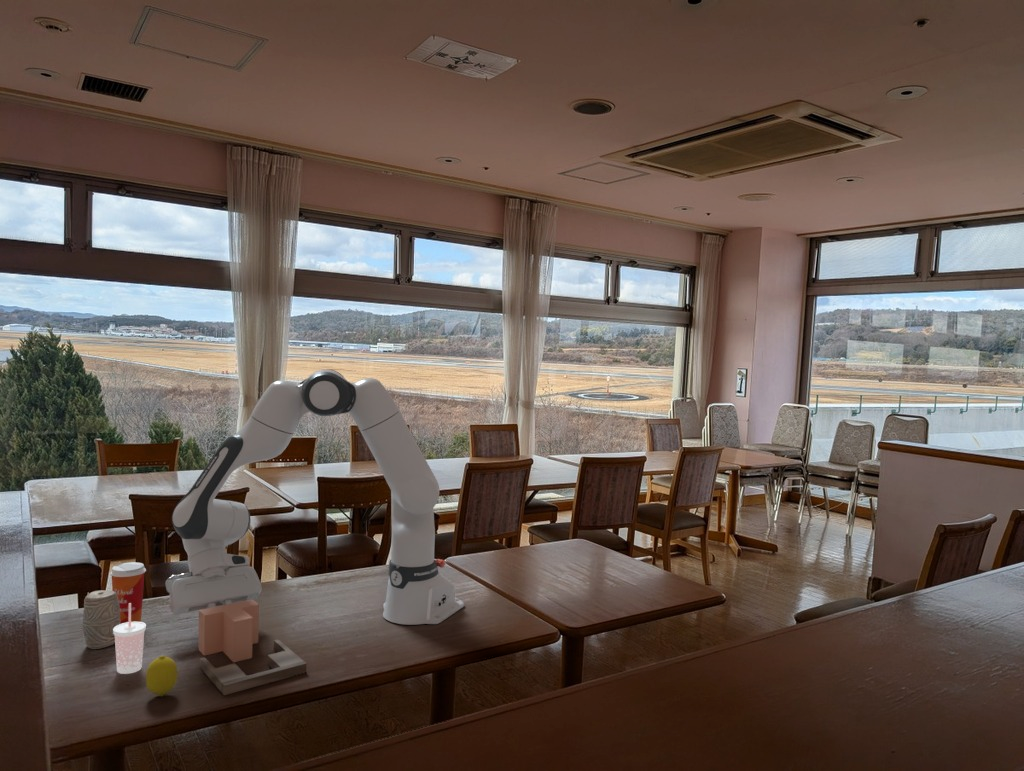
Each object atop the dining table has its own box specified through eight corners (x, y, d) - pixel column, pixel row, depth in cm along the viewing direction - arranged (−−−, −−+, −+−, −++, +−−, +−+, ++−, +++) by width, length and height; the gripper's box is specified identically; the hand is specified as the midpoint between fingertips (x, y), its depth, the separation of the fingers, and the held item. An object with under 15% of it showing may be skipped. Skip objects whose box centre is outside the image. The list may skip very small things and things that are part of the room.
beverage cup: (147, 671, 151) (148, 605, 150) (114, 678, 147) (114, 610, 147) (144, 660, 156) (144, 596, 155) (111, 666, 152) (112, 601, 152)
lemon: (152, 689, 143) (153, 649, 143) (181, 689, 144) (182, 649, 143) (140, 703, 138) (141, 662, 137) (170, 702, 138) (171, 662, 138)
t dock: (200, 667, 153) (200, 658, 153) (278, 648, 164) (278, 639, 164) (224, 695, 142) (224, 685, 142) (306, 672, 153) (306, 663, 153)
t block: (198, 649, 162) (198, 610, 162) (251, 636, 170) (252, 599, 169) (214, 667, 154) (215, 625, 153) (269, 653, 161) (270, 613, 161)
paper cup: (102, 626, 173) (102, 568, 172) (129, 615, 180) (129, 559, 179) (126, 631, 170) (127, 573, 169) (153, 620, 177) (153, 564, 177)
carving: (77, 646, 161) (77, 593, 161) (112, 636, 167) (112, 585, 167) (89, 654, 157) (90, 600, 157) (125, 644, 163) (125, 592, 163)
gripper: (166, 570, 166) (178, 625, 159) (255, 555, 179) (269, 606, 172) (161, 583, 169) (172, 638, 162) (248, 568, 183) (262, 618, 176)
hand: (223, 621), depth 167 cm, fingers closed
